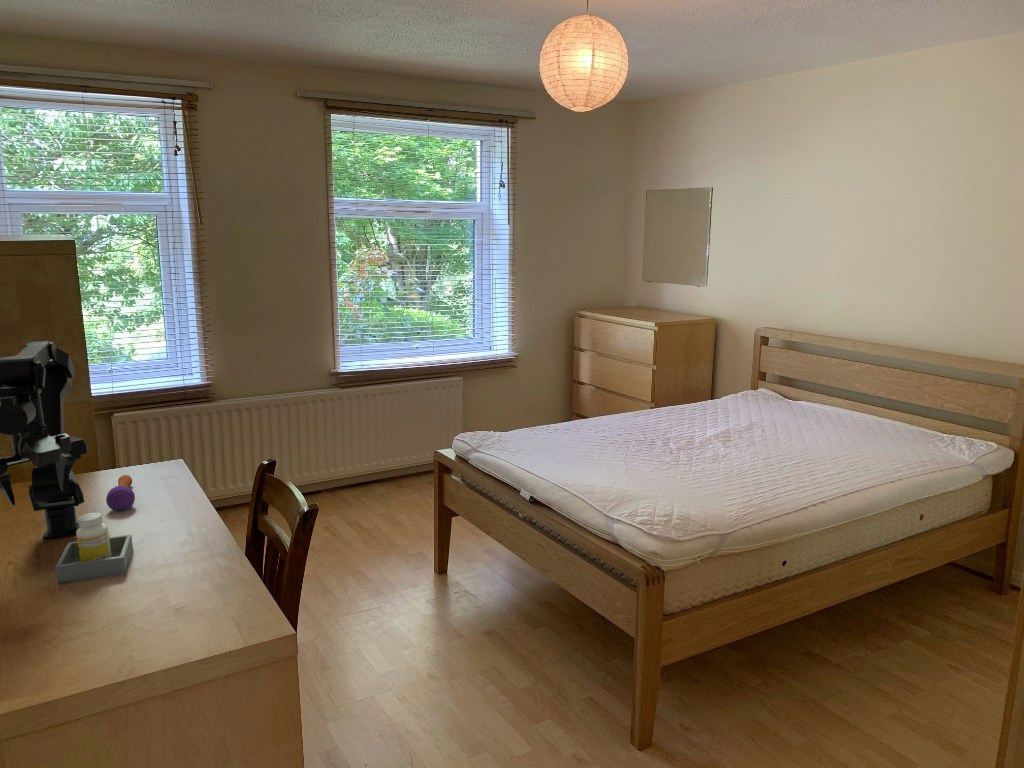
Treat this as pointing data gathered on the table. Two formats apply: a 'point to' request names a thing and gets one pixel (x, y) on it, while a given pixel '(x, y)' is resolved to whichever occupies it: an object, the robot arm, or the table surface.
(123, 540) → the tray
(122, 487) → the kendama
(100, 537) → the supplement bottle
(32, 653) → the table surface
